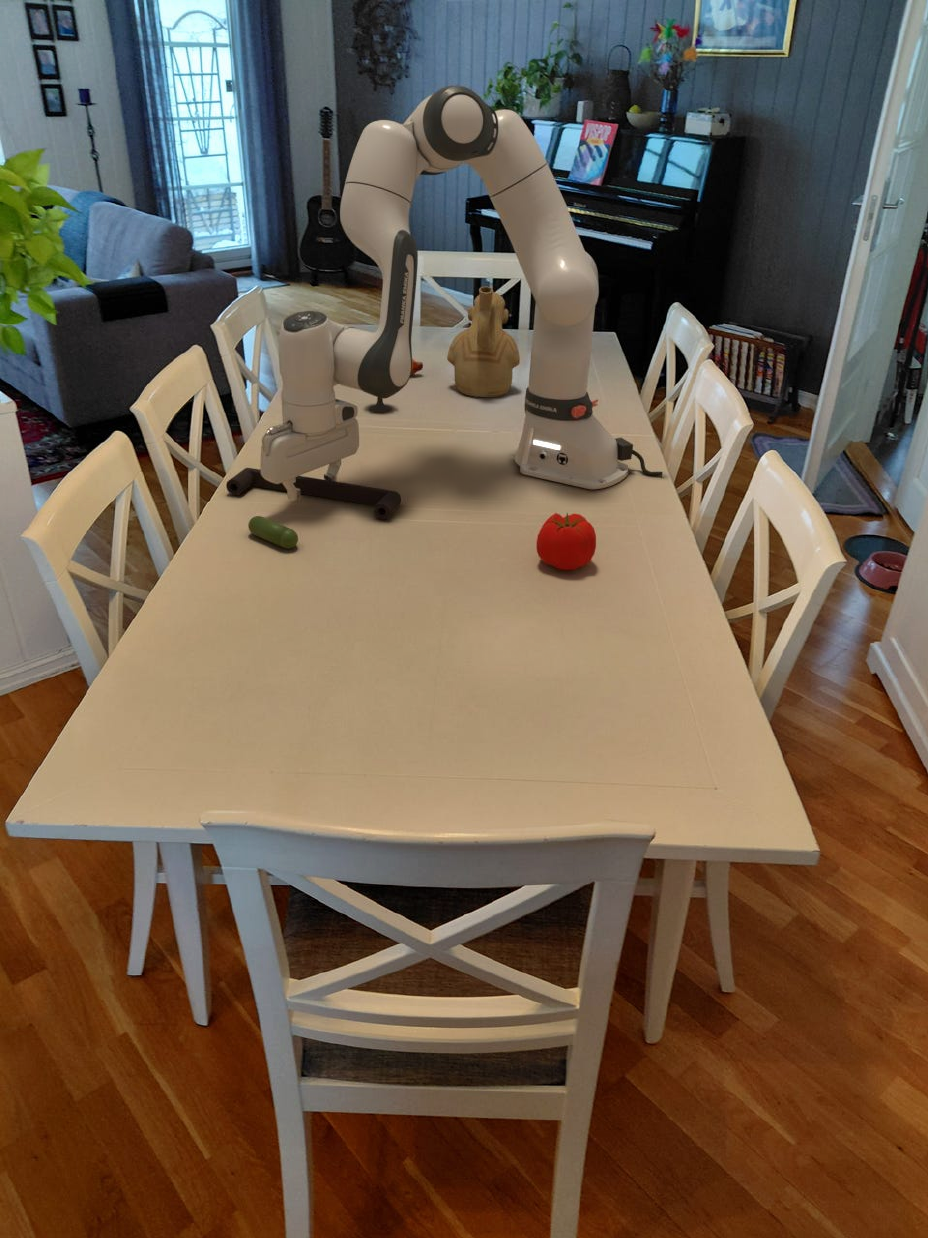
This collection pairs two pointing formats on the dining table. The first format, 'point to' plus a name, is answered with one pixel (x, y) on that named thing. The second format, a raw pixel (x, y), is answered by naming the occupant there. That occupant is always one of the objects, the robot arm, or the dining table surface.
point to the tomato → (566, 541)
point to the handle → (323, 490)
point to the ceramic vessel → (484, 349)
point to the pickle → (273, 532)
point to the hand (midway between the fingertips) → (312, 491)
